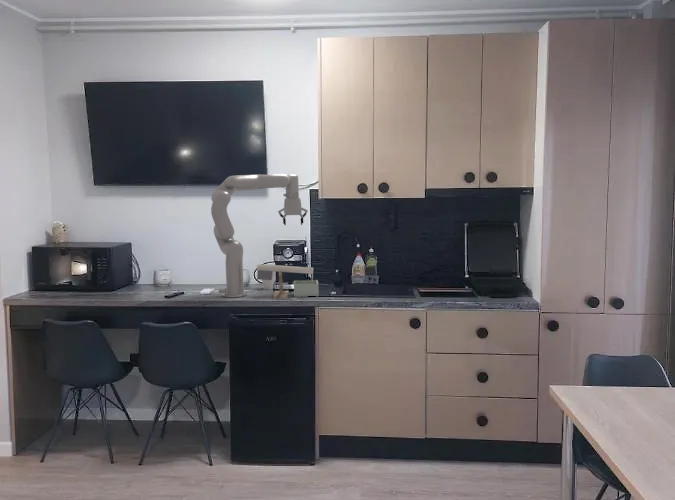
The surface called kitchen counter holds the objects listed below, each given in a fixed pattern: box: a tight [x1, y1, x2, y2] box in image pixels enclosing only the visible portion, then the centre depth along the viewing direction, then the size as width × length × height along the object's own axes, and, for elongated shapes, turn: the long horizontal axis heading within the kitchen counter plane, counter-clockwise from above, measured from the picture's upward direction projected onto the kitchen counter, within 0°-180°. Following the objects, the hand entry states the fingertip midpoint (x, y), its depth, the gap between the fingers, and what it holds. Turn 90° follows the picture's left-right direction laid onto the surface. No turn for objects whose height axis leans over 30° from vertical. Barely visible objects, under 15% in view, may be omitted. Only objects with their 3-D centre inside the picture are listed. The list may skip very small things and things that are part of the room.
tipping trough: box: [256, 263, 314, 281], centre depth 343 cm, size 31×17×8 cm, turn 94°
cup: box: [293, 279, 320, 298], centre depth 340 cm, size 14×14×7 cm
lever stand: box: [273, 271, 289, 299], centre depth 339 cm, size 8×14×14 cm, turn 4°
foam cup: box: [261, 271, 277, 291], centre depth 363 cm, size 10×9×13 cm
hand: (293, 224), depth 355 cm, fingers open, 9 cm apart
